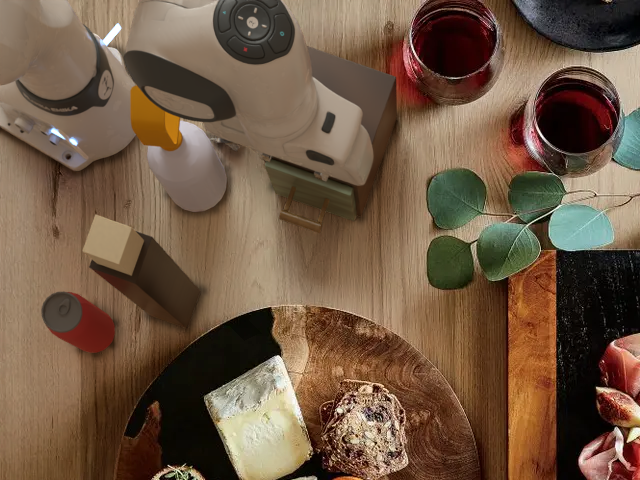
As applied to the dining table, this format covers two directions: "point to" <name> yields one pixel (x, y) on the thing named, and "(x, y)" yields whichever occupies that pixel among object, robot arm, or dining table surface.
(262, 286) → the dining table surface
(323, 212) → the drawer
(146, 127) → the soap bottle
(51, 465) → the dining table surface
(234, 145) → the vase
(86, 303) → the beer can
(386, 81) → the cabinet
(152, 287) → the plinth
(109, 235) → the block
